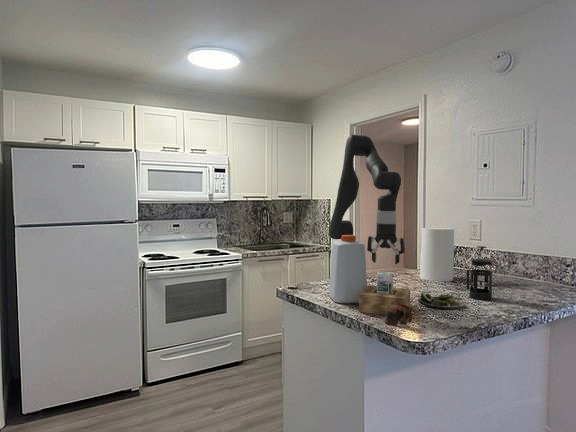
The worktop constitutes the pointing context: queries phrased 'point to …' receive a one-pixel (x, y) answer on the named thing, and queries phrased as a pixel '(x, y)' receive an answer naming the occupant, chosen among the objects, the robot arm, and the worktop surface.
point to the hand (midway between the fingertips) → (385, 263)
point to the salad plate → (440, 301)
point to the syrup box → (385, 283)
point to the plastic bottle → (347, 270)
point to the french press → (474, 291)
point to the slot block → (381, 300)
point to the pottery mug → (398, 314)
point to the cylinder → (437, 254)
